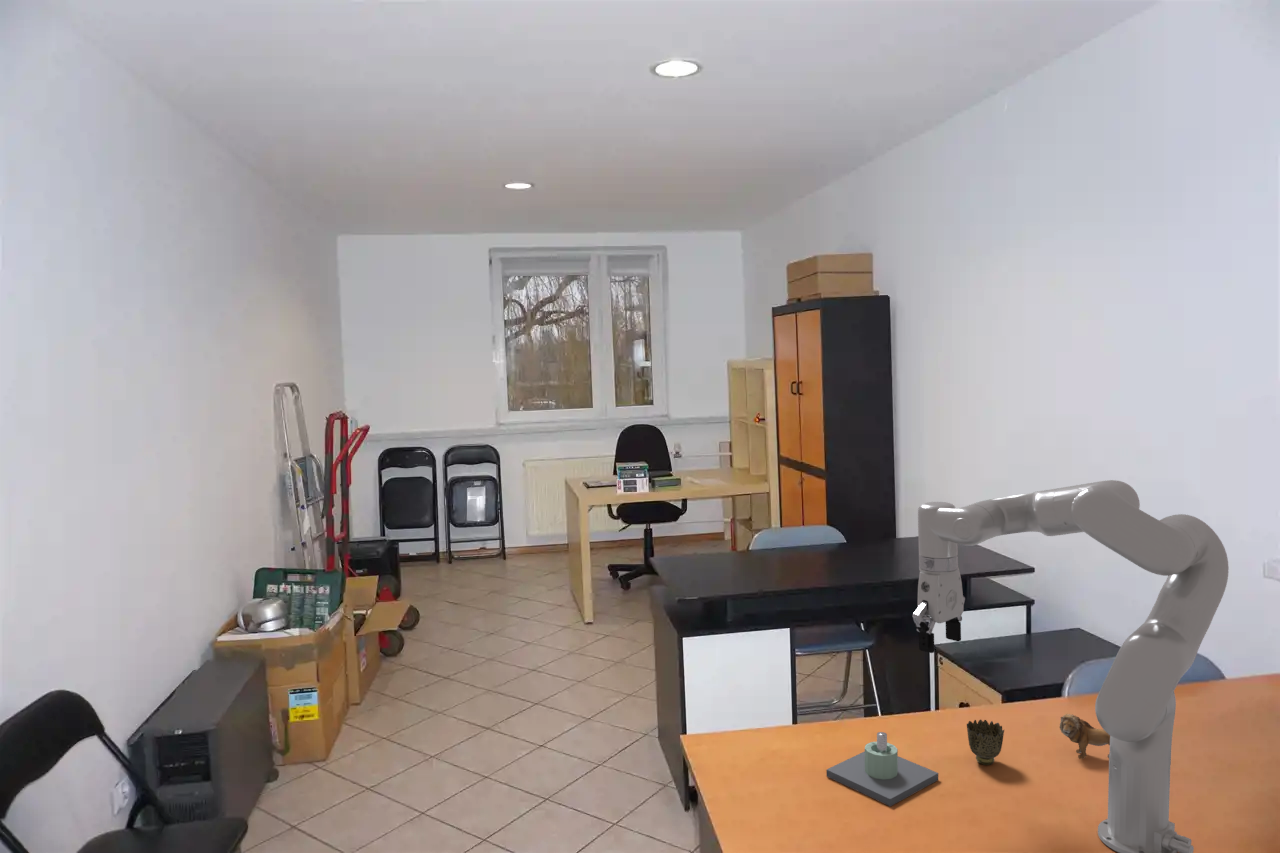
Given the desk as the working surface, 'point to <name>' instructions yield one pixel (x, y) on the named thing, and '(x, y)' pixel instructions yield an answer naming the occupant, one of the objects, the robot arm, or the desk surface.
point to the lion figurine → (1083, 733)
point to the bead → (881, 761)
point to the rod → (881, 742)
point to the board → (883, 790)
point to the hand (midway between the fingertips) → (940, 645)
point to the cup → (985, 740)
